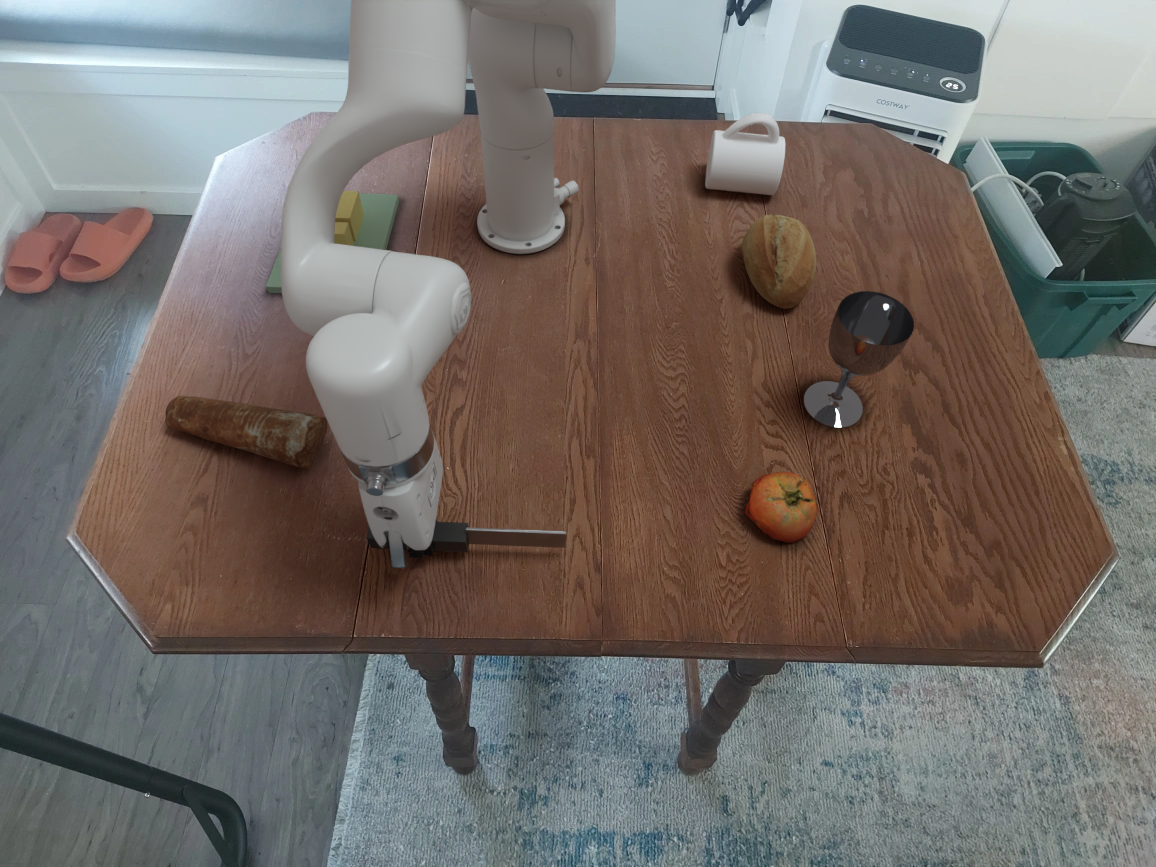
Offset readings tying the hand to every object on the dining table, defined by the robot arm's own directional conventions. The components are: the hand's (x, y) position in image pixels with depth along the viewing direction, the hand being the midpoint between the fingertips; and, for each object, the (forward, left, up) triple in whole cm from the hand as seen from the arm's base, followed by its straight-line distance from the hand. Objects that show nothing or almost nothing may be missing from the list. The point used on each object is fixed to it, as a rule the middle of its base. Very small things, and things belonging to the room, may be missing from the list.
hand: (420, 539), depth 78 cm
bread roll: (-60, -1, -2) cm, 60 cm away
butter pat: (-17, -44, -1) cm, 48 cm away
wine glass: (-48, +18, -2) cm, 51 cm away
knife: (-4, +4, 0) cm, 5 cm away
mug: (-72, -17, -2) cm, 74 cm away
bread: (+7, -24, -2) cm, 25 cm away
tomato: (-31, +23, -2) cm, 39 cm away
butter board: (-19, -46, -2) cm, 50 cm away
